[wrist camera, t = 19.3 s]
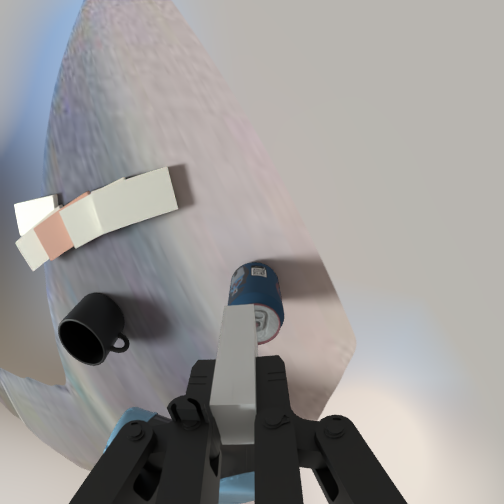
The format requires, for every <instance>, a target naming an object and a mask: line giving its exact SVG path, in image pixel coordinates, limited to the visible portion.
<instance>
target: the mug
mask: <svg viewBox="0 0 504 504" xmlns="http://www.w3.org/2000/svg"><path fill="white" fill-rule="evenodd" d="M123 328H124V317H123V314H122V312H121V310H120V308H119V307H118V306H117V304H116V303H115V302H114V301H113V300H111V299H110V298H109V297H107V296H105V295H102V294H99V293H92V294H88V295H86V296H85V297H84V298H83V299H82V300H81V301H80V302H79V303H78V304H77V305H76V306H75V307H74V308H73V310H72V311H71V312H70V313H69V314H68V315H67V316H66V317H65V318H64V319H63V320H62V321H61V323H60V324H59V327H58V334H59V338H60V341H61V343H62V345H63V346H64V348H65V349H66V350H67V351H68V353H69V354H70V355H72V356H73V357H74V358H75V359H77V360H78V361H80V362H82V363H84V364H87V365H93V366H95V365H99V364H101V363H103V362H104V360H105V359H106V357H107V355H108V354H109V352H110V351H113V352H116V353H122V352H125V351H126V350H127V349H128V348H129V344H130V343H129V340H128V338H127V337H126V336H125V335H123V334H122V333H121V332H122V331H123ZM118 338H121V339H122V340H123V341H124V343H125V345H124V347H122V348H116V347H114V346H113V345H114V344H115V342H116V340H117V339H118Z"/></svg>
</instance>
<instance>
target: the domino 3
mask: <svg viewBox="0 0 504 504" xmlns="http://www.w3.org/2000/svg"><path fill="white" fill-rule="evenodd" d="M89 194H91V193H90V191H87V192H85V193H84V194H82V195H81V196H79V197H77V198H76V199H74V200H73V201H71V202H70V203H68V204H67V205H65V206H64V207H63V208H61V209H60V210H58V211H57V212H55V213H54V214H53V215H51V216H50V217H48V218H47V219H46V220H44V221H43V222H41V223H40V224H39V225H37V226H36V227H35V228H33V229H34V231H35V233H36V235H37V237H38V239H39V241H40V242H41V244H42V246H43V248H44V250H45V251H46V253H47V255H48V256H49V258H50V260H51V261H52V260H54V259H55V258H57V257H58V256H59V255H61V254H62V253H64V252H65V251H67V250H68V249H70V248H71V247H73V246H74V244H73V242H72V240H71V238H70V236H69V234H68V231H67V229H66V227H65V225H64V222H63V220H62V218H61V216H60V213H59V211H61V210H63V209H64V208H66V207H68V206H69V205H71V204H73V203H75V202H77V201H78V200H80V199H82V198H84V197H86V196H88V195H89Z"/></svg>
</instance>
